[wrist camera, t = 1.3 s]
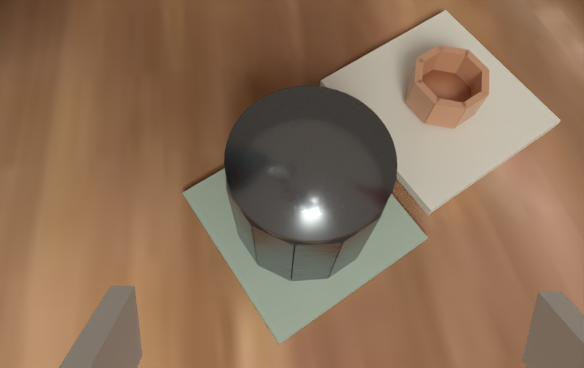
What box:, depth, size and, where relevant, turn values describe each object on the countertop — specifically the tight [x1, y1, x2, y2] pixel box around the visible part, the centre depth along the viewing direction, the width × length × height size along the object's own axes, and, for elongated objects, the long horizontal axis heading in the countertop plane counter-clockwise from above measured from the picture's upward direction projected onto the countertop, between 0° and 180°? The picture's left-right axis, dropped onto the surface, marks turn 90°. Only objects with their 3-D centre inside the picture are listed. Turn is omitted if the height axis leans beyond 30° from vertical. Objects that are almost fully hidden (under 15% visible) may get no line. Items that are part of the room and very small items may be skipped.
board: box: [320, 10, 561, 215], centre depth 43 cm, size 15×15×1 cm
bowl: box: [405, 45, 489, 129], centre depth 41 cm, size 6×6×4 cm
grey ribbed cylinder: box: [224, 86, 397, 281], centre depth 33 cm, size 10×10×10 cm
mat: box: [183, 168, 428, 344], centre depth 38 cm, size 14×14×1 cm
